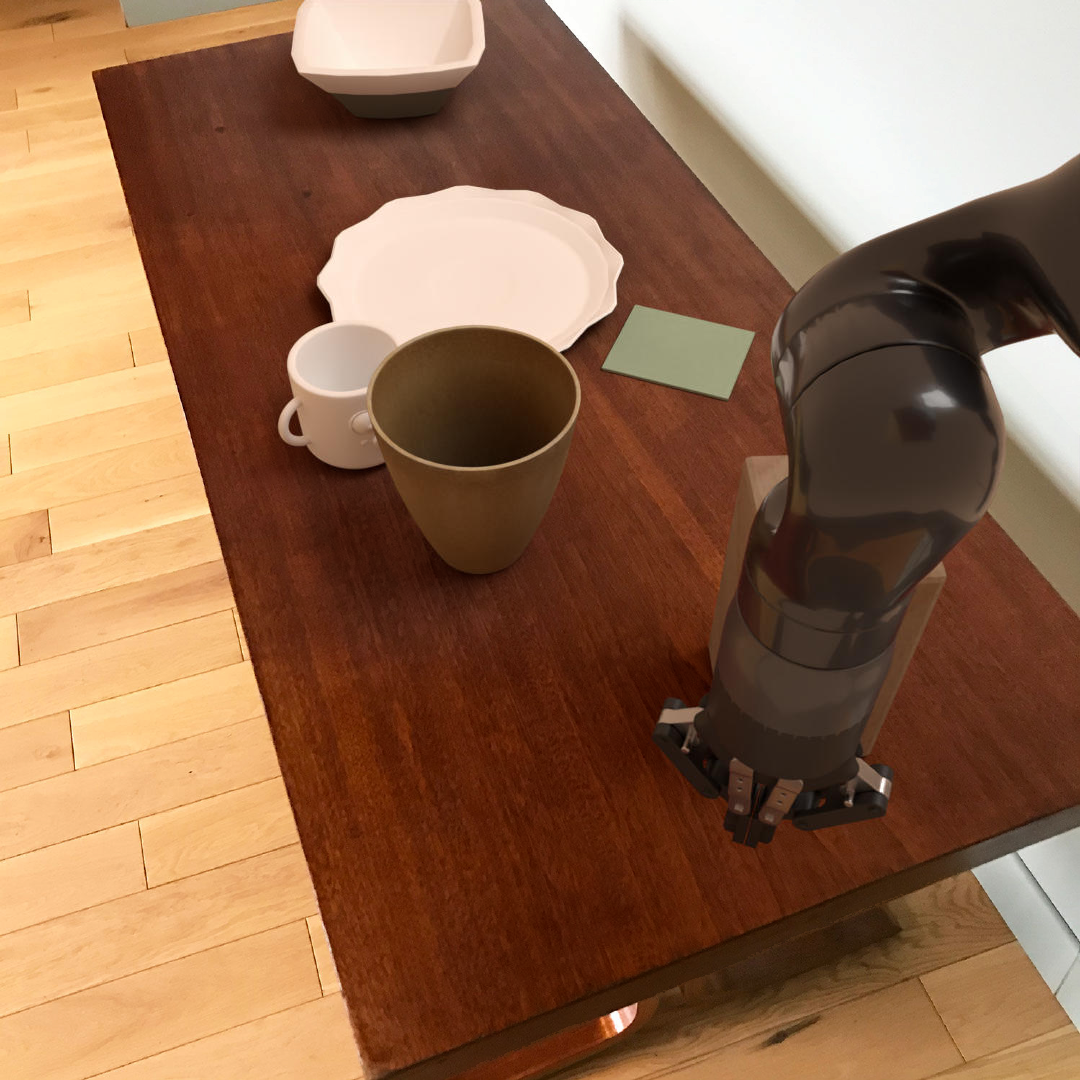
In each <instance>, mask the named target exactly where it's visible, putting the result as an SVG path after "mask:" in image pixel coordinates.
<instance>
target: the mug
mask: <svg viewBox="0 0 1080 1080" xmlns="http://www.w3.org/2000/svg"><path fill="white" fill-rule="evenodd" d="M402 344H403V342H402V340H401V339H400V337H399V336H398V335H397V334H396V333H395V332H393V331H392V330H390V329H389V328H387V327H385V326H383V325H380V324H378V323H374V322H370V321H364V320H343V321H337V322H333V321H332V322H329V323H325V324H323V325H320V326H318V327H315V328H313V329H311V330H309V331H308V332H307V333H305V334H304V335H302V336H301V337H299V339H297V340H296V342H295V343H294V344H293V346H292V347H291V349H290V350H289V353H288V355H287V356H288V357H287V360H286V368H287V375H288V379H289V382H290V383H289V384H290V387H291V392H292V396H293V398H292V399H291V400H290V401H289V402H288V403H287V404H286V405H285V406H284V408H283V409H282V411H281V413H280V415H279V418H278V423H277V429H278V433H279V436H280V438H281V439H282V441H284V442H285V443H286V444H288V445H290V446H294V447H305V446H306V447H307V449H308V450H309V451H310V452H311V453H312V454H313V456H315V457H316V458H317V459H319V460H320V461H322V462H323V463H325V464H328V465H330V466H333V467H336V468H341V469H346V470H347V469H348V470H361V469H368V468H372V467H373V468H374V467H376V466H380V465H383V464H386V463H385V461H384V458H383V456H382V453H381V450H380V447H379V445H378V442H377V439H376V436H375V433H374V430H373V428H372V425H371V422H370V418H369V415H368V411H367V405H366V393H367V388H368V385H369V382H370V379H371V377H372V375H373V373H374V371H375V370H376V368H377V367H378V366H379V364H380V363H381V362H382V361H383V359H384V358H385V357H386V356H387V355H389V354H390V353H391V352H392V351H393V350H395V349H396V348H397V347H399V346H400V345H402ZM295 412H296V413H297V417H298V422H299V425H300V428H301V433H302V435H294V434H292V433H291V431H290V428H289V425H290V420H291V419H292V416H293V415H294V414H295Z"/></svg>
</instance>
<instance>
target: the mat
mask: <svg viewBox="0 0 1080 1080" xmlns="http://www.w3.org/2000/svg"><path fill="white" fill-rule="evenodd" d="M755 336H756V331H751V330H749V329H748V330H747V329H743V328H738V327H734V326H730V325H726V324H721V323H716V322H713V321H709V320H704V319H700V318H695V317H691V316H687V315H682V314H678V313H674V312H669V311H666V310H660V309H656V308H652V307H648V306H643V305H639V304H634V306H633V308H632V310H631V312H630V313H629V315H628V316H627V319H626V321H625V322H624V325H623V326H622V327H621V330H620V332H619V334H618V337H617V338H616V340H615V342H614V343H613V345H612V346H611V349H610V351H609V353H608V354H607V356H606V358H605V360H604V362H603V364H602V365H601V370H602V371H604V372H607V373H608V372H609V373H613V374H616V375H621V376H623V377H629V378H631V379H632V378H633V379H637V380H641V381H645V382H648V383H649V382H650V383H653V384H658V385H661V386H664V387H669V388H674V389H678V390H680V391H684V392H685V391H686V392H690V393H693V394H697V395H702V396H705V397H706V396H707V397H710V398H713V399H718V400H721V401H725V402H728V401H729V399H730V396H731V394H732V392H733V390H734V387H735V385H736V382H737V379H738V377H739V375H740V372H741V370H742V368H743V365H744V363H745V360H746V358H747V355H748V353H749V350H750V348H751V345H752V343H753V341H754V338H755Z"/></svg>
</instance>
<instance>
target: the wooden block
mask: <svg viewBox="0 0 1080 1080" xmlns="http://www.w3.org/2000/svg"><path fill="white" fill-rule="evenodd" d="M787 476H788V454H785V455H784V454H783V455H780V454H779V455H751V456H748V457H746V458H745V459H744V460H743V463H742V467H741V471H740V477H739V483H738V488H737V493H736V498H735V504H734V508H733V514H732V518H731V519H732V520H731V525H730V529H729V535H728V541H727V544H726V545H727V546H726V550H725V556H724V561H723V567H722V571H721V572H722V573H721V578H720V583H719V588H718V592H717V598H716V604H715V608H714V614H713V618H712V624H711V630H710V635H709V639H708V640H709V641H708V645H707V646H708V653H709V658H710V664H711V671H712V675H713V674H714V670H715V665H716V660H717V655H718V650H719V646H720V641H721V636H722V631H723V626H724V621H725V618H726V614H727V611H728V607H729V605H730V602H731V600H732V598H733V596H734V594H735V592H736V589H737V587H738V582H739V577H740V573H741V568H742V563H743V559H744V554H745V549H746V545H747V540H748V537H749V533H750V529H751V526H752V523H753V520H754V518H755V515H756V513H757V511H758V509H759V507H760V505H761V503H762V501H763V500H764V498H765V497H766V495H767V494H768V493H769V492H770V491H771V489H772V488H773V487H774V486H775V485H777V484H778V483H779V482H780V481H782V480H783V479H784V478H786V477H787ZM946 581H947V571H946V569H945V566H944V563H943V560H942V561H941V562H940V563H939V564H938V565H937V566H936V568H935V569H933V570H932V571H931V572H930V573H929V574H928V575H927V576H926V577H925V578H923V579H922V580H921V581H920V582H919V583H918V584H917V587H916V590H915V593H914V595H913V598H912V600H911V602H910V605H909V607H908V610H907V612H906V615H905V617H904V619H903V622H902V624H901V627H900V629H899V631H898V634H897V638H896V644H895V650H894V655H893V659H892V663H891V666H890V669H889V672H888V674H887V676H886V679H885V681H884V684H883V686H882V688H881V691H880V693H879V696H878V698H877V701H876V703H875V705H874V708H873V710H872V712H871V715H870V717H869V720H868V722H867V724H866V727H865V729H864V732H863V734H862V736H861V739H860V741H861V743H862V746H863V755H862V757H867V756H868V755H870V754H871V752H872V750H873V748H874V746H875V743H876V741H877V739H878V736H879V735H880V732H881V730H882V728H883V725H884V723H885V720H886V718H887V716H888V713H889V711H890V709H891V708H892V707H891V706H892V705H893V702H894V700H895V698H896V694H897V693H898V691H899V688H900V686H901V684H902V681H903V679H904V677H905V674H906V672H907V670H908V667H909V666H910V663H911V661H912V658H913V656H914V654H915V652H916V650H917V647H918V645H919V642H920V640H921V638H922V636H923V633H924V631H925V630H926V626H927V624H928V622H929V620H930V617H931V615H932V613H933V610H934V608H935V606H936V604H937V601H938V599H939V597H940V595H941V592H942V590H943V588H944V586H945V583H946Z"/></svg>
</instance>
